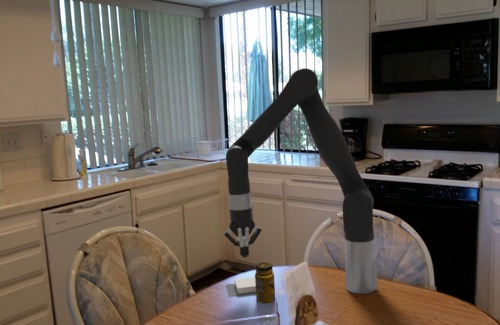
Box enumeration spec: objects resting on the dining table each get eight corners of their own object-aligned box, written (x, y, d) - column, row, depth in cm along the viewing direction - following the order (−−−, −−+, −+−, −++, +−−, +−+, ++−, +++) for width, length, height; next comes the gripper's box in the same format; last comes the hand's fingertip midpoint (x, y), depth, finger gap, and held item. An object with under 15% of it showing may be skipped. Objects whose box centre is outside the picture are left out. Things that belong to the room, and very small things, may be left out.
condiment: (281, 301, 146) (279, 265, 144) (259, 309, 142) (256, 272, 140) (267, 294, 152) (265, 259, 150) (246, 301, 148) (243, 265, 146)
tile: (234, 284, 159) (257, 282, 161) (237, 294, 152) (261, 291, 153) (234, 278, 159) (257, 276, 160) (237, 288, 151) (261, 285, 153)
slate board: (262, 281, 162) (262, 280, 162) (268, 293, 152) (268, 291, 152) (225, 286, 160) (225, 284, 160) (229, 298, 150) (228, 296, 150)
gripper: (258, 201, 156) (261, 250, 159) (219, 205, 154) (223, 255, 157) (262, 206, 149) (266, 258, 151) (221, 211, 147) (226, 263, 149)
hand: (244, 256), depth 154 cm, fingers closed
